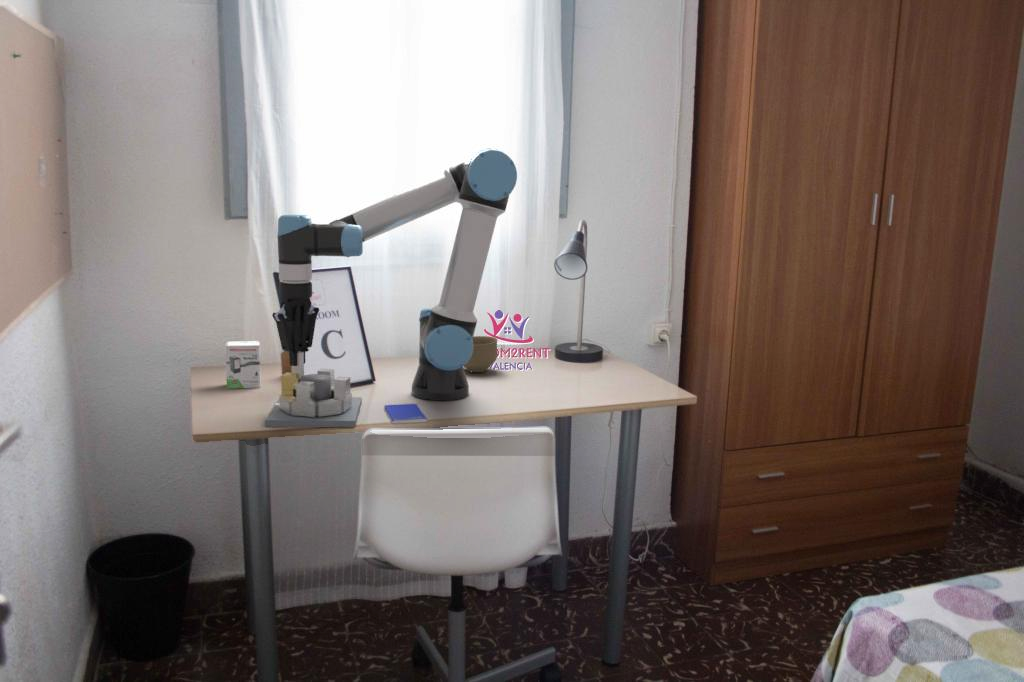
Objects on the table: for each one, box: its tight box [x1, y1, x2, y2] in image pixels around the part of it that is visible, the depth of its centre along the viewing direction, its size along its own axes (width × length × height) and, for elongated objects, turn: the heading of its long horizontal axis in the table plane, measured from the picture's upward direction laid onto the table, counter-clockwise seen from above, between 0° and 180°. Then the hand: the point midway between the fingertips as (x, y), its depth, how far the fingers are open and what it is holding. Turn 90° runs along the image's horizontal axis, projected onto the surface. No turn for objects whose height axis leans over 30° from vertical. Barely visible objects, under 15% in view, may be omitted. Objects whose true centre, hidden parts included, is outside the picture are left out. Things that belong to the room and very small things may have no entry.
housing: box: [264, 373, 363, 428], centre depth 195 cm, size 20×20×9 cm
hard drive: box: [383, 403, 428, 425], centre depth 198 cm, size 2×8×12 cm
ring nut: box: [279, 367, 353, 417], centre depth 195 cm, size 16×16×8 cm
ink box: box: [225, 340, 261, 390], centre depth 216 cm, size 9×5×12 cm, turn 107°
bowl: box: [463, 335, 498, 373], centre depth 243 cm, size 13×13×10 cm
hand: (297, 377), depth 198 cm, fingers closed
